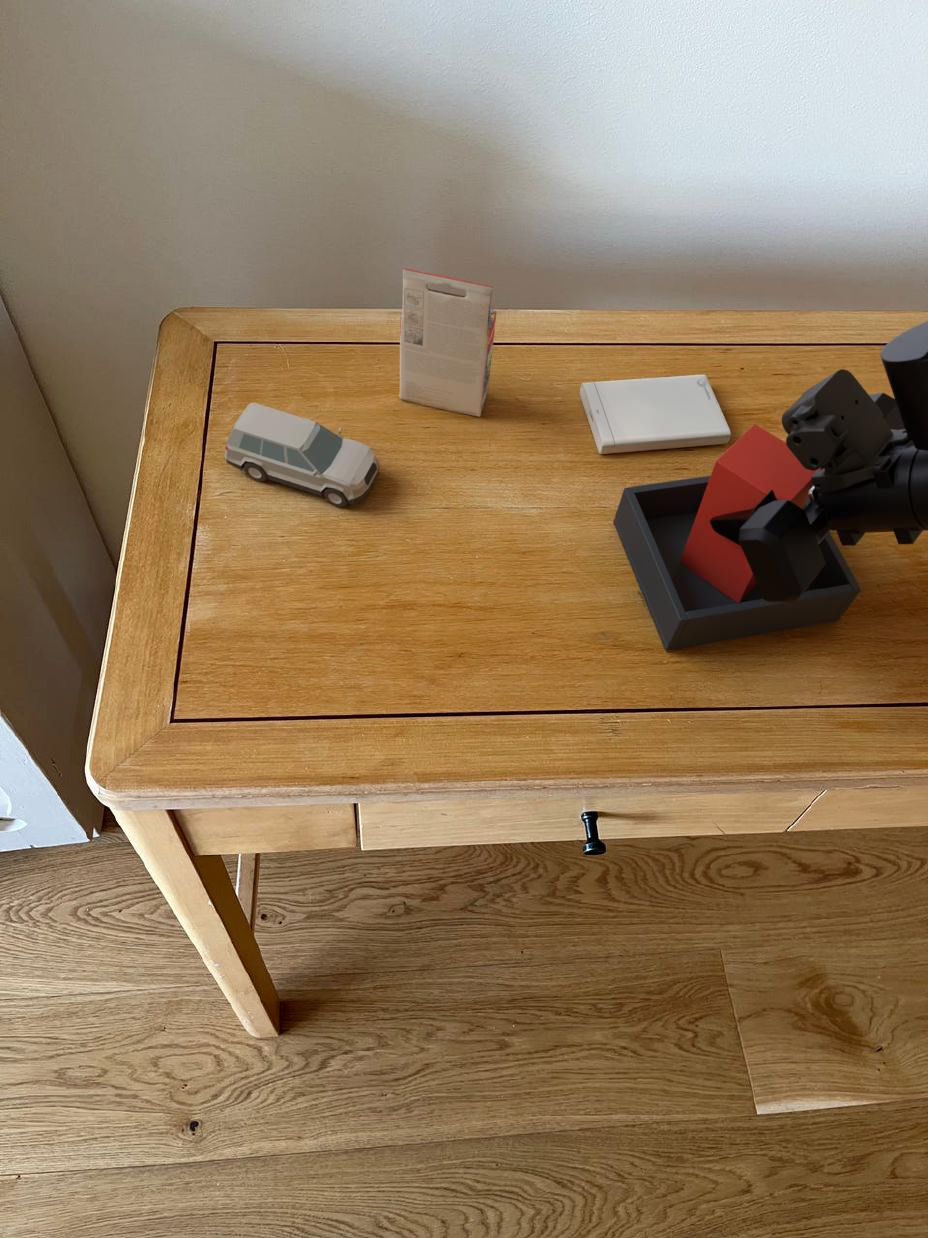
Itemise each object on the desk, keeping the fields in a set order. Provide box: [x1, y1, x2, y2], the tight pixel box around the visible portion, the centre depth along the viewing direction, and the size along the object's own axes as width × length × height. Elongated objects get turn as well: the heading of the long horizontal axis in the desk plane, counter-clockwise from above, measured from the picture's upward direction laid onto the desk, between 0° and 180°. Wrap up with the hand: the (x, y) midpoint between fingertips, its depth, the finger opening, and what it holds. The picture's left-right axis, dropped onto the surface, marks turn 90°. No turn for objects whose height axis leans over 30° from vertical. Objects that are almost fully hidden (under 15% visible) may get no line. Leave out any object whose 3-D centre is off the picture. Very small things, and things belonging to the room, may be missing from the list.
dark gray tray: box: [613, 475, 862, 652], centre depth 77 cm, size 15×13×5 cm
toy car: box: [224, 401, 380, 508], centre depth 80 cm, size 6×13×5 cm, turn 71°
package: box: [680, 423, 823, 603], centre depth 73 cm, size 6×5×13 cm
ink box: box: [399, 267, 497, 418], centre depth 82 cm, size 4×8×15 cm, turn 77°
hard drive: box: [579, 373, 732, 455], centre depth 88 cm, size 2×8×12 cm
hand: (734, 501), depth 73 cm, fingers closed on package, 6 cm apart
